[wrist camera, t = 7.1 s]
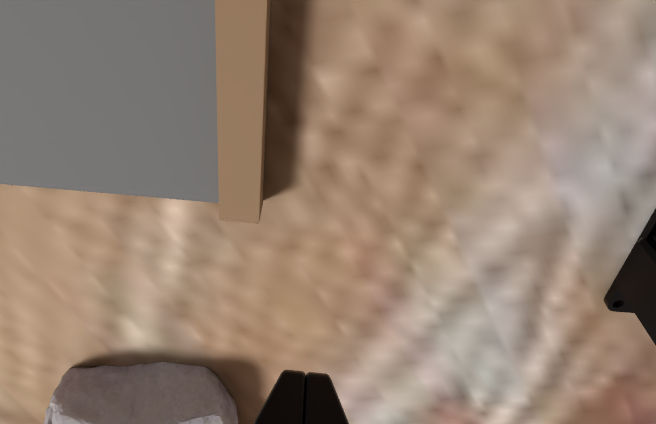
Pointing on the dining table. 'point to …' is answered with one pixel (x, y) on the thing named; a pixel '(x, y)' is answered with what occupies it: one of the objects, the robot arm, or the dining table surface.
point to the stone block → (141, 396)
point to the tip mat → (137, 98)
